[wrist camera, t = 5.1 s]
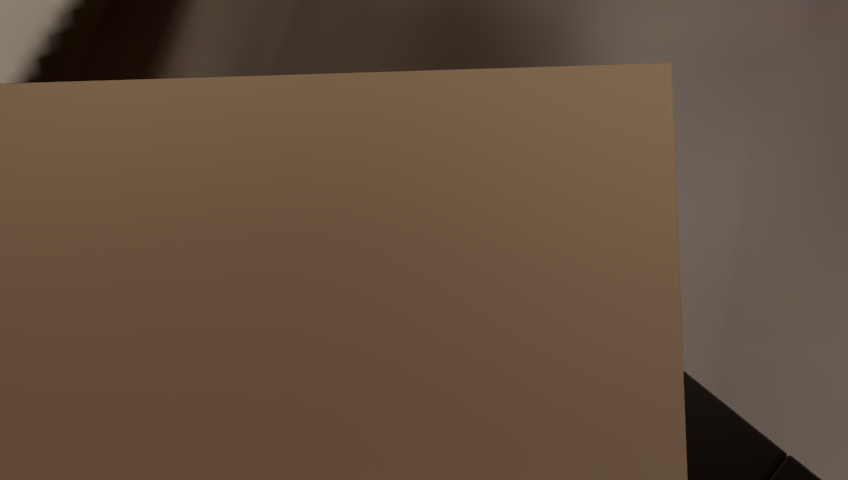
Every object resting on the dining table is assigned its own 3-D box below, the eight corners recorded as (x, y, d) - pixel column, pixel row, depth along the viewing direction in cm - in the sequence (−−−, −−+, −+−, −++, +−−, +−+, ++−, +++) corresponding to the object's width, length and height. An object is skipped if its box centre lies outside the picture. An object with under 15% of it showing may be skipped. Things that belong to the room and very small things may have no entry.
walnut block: (569, 553, 15) (715, 1219, 3) (359, 537, 16) (-325, 999, 3) (569, 336, 16) (672, 63, 4) (372, 331, 17) (-113, 86, 4)
